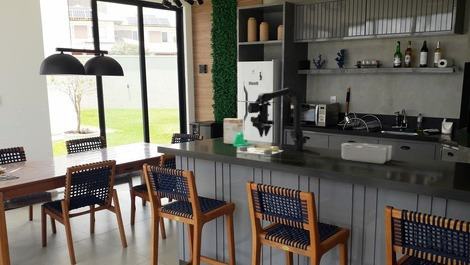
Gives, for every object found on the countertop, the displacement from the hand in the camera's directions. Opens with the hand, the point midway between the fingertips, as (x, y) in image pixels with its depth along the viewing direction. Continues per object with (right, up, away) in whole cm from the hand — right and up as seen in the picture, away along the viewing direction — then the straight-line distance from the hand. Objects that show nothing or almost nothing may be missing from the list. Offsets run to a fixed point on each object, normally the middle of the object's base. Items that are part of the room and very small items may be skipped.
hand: (263, 136), depth 265 cm
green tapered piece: (-13, -8, +36) cm, 39 cm away
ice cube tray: (+60, -14, -17) cm, 64 cm away
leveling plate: (-2, -11, +7) cm, 13 cm away
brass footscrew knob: (+3, -9, +10) cm, 14 cm away
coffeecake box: (-20, -6, +52) cm, 56 cm away
